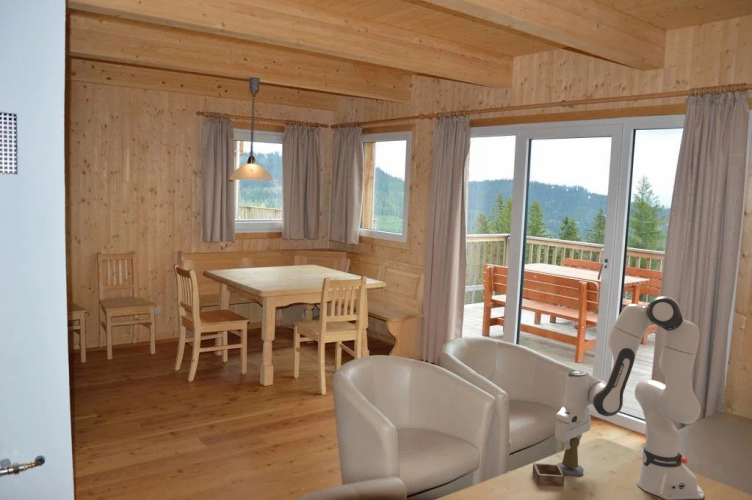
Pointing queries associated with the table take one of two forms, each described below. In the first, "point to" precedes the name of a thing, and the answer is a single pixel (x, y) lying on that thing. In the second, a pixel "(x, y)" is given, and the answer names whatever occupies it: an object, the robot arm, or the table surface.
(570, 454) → the cork
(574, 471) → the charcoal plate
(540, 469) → the walnut holder
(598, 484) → the table surface
